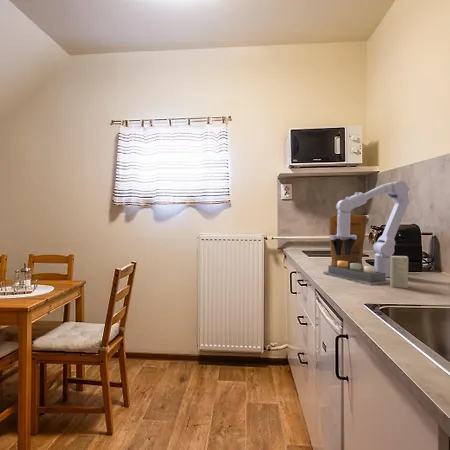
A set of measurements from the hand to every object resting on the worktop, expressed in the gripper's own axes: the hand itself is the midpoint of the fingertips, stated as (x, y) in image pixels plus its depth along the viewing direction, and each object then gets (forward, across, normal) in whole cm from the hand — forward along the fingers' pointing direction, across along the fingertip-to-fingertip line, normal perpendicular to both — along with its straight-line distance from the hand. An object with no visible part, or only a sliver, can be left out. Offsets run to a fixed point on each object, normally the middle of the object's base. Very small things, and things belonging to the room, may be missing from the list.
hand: (342, 255), depth 170 cm
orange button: (+6, 0, 0) cm, 6 cm away
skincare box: (+10, -3, +28) cm, 30 cm away
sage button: (+6, 0, +8) cm, 10 cm away
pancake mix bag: (+10, -21, -19) cm, 30 cm away
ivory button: (+6, 0, +16) cm, 17 cm away
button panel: (+9, 0, +8) cm, 12 cm away
